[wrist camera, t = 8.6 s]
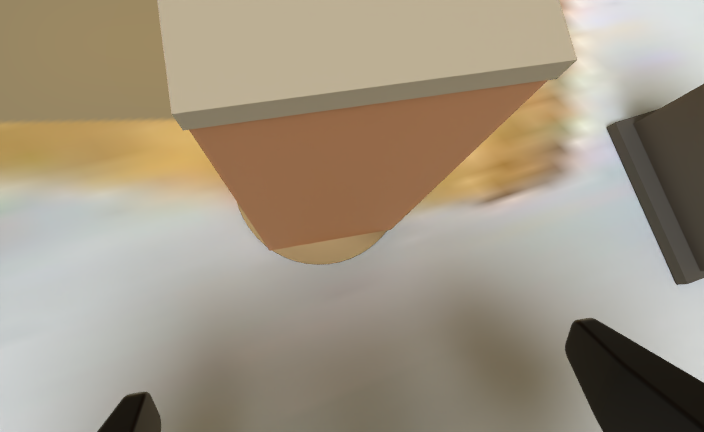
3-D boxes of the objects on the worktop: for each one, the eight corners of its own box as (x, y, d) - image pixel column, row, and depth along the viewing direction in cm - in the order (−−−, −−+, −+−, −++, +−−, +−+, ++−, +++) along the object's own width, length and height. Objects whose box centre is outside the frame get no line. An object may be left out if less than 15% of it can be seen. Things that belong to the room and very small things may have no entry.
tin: (395, 229, 19) (588, 58, 6) (268, 251, 18) (171, 114, 5) (372, 115, 20) (493, -251, 7) (249, 132, 19) (127, -237, 6)
